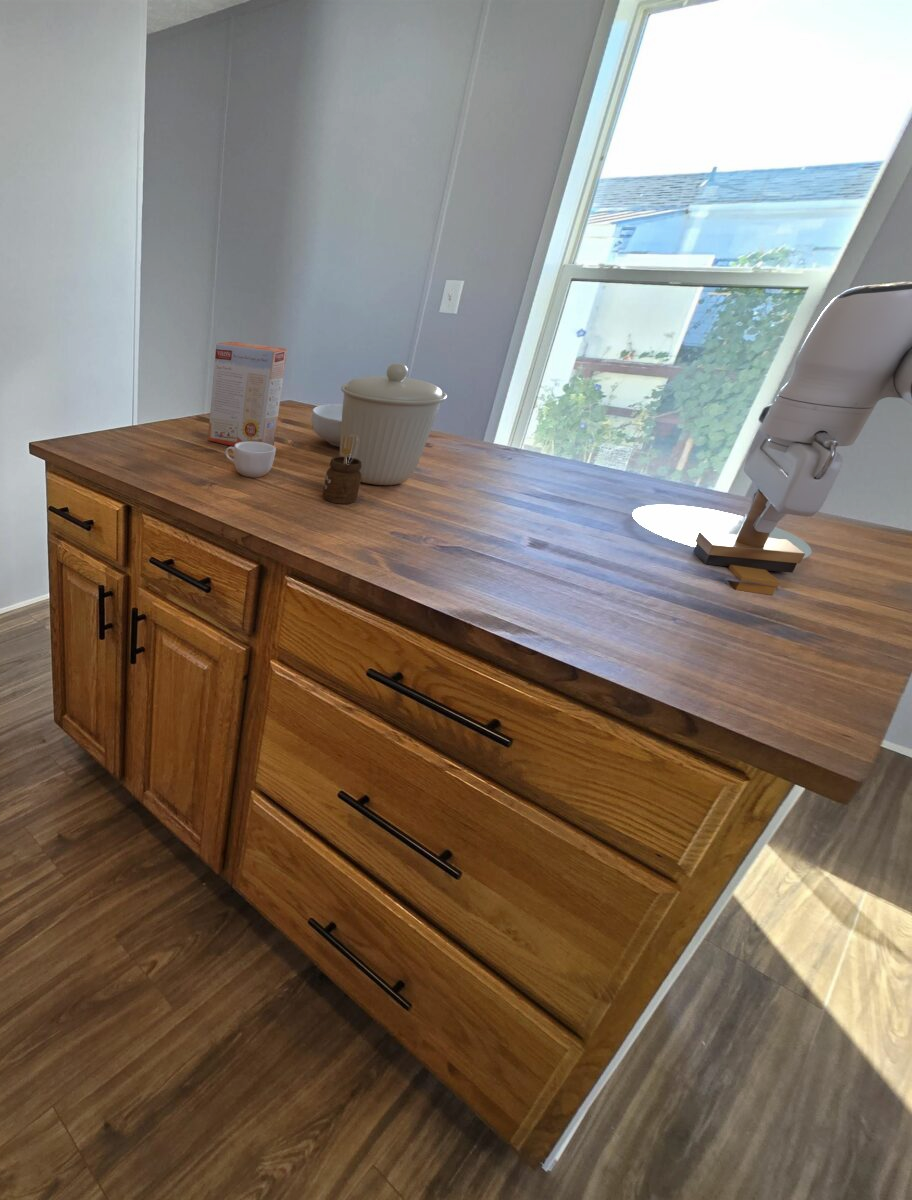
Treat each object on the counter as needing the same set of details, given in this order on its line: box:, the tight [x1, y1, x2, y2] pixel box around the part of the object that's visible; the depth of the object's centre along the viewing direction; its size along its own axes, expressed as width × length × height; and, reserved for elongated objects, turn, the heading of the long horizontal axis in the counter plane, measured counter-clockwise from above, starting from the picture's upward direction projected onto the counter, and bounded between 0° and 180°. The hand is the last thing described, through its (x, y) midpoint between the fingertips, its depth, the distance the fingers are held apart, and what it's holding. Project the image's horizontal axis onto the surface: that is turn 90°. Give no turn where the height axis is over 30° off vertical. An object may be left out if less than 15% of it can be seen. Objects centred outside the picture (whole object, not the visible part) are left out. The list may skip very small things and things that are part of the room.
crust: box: [727, 565, 780, 596], centre depth 89 cm, size 4×4×2 cm
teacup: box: [224, 441, 277, 479], centre depth 127 cm, size 10×8×5 cm
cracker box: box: [207, 341, 288, 447], centre depth 140 cm, size 14×6×21 cm, turn 46°
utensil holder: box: [322, 435, 362, 505], centre depth 113 cm, size 6×6×12 cm
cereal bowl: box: [311, 403, 343, 448], centre depth 146 cm, size 17×17×7 cm
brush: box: [693, 491, 805, 574], centre depth 89 cm, size 10×5×10 cm, turn 69°
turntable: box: [631, 504, 813, 560], centre depth 103 cm, size 22×22×2 cm
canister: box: [339, 363, 448, 486], centre depth 122 cm, size 18×18×21 cm
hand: (757, 525), depth 89 cm, fingers closed on brush, 3 cm apart
